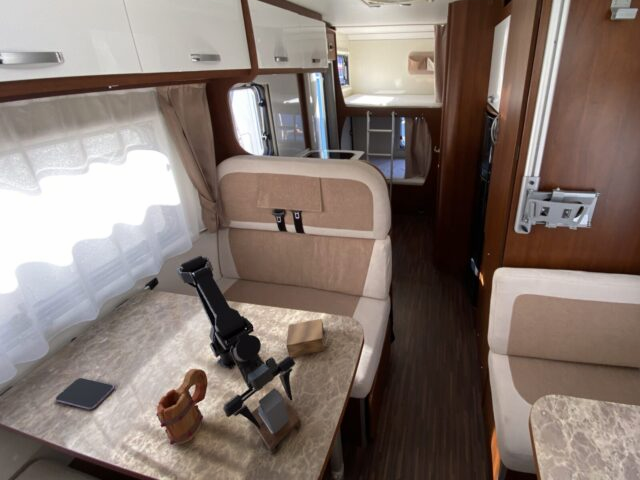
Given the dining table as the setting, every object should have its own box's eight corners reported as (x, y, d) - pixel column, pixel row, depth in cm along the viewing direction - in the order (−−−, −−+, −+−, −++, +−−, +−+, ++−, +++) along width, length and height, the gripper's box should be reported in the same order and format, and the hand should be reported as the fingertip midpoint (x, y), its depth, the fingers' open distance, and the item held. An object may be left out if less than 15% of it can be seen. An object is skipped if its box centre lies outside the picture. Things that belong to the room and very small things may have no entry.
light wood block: (289, 357, 104) (286, 345, 101) (291, 336, 112) (288, 324, 109) (324, 350, 106) (322, 338, 103) (324, 330, 114) (321, 318, 111)
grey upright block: (290, 420, 83) (283, 398, 79) (273, 435, 79) (265, 413, 75) (275, 399, 88) (268, 378, 84) (258, 413, 84) (251, 391, 81)
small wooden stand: (251, 421, 86) (248, 414, 84) (279, 396, 92) (277, 390, 90) (271, 454, 78) (269, 447, 77) (301, 425, 84) (299, 418, 83)
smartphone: (91, 409, 90) (52, 399, 93) (92, 411, 91) (54, 401, 94) (115, 385, 97) (79, 376, 100) (116, 387, 97) (80, 379, 100)
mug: (187, 454, 79) (168, 419, 73) (161, 447, 81) (140, 413, 75) (224, 397, 92) (211, 364, 86) (202, 393, 94) (187, 360, 88)
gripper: (214, 385, 70) (246, 449, 68) (285, 335, 83) (314, 387, 80) (211, 386, 79) (240, 443, 76) (276, 340, 91) (303, 387, 88)
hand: (276, 414), depth 80 cm, fingers open, 9 cm apart
